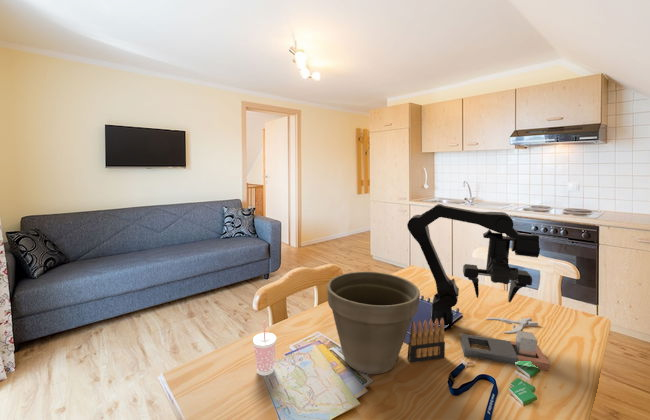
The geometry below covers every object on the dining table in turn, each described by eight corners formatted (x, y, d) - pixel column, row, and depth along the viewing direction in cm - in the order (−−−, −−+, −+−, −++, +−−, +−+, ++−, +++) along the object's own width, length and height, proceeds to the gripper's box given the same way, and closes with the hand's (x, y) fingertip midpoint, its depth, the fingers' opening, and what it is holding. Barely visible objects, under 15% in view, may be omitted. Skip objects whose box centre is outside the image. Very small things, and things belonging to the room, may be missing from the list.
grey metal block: (518, 360, 88) (520, 337, 87) (514, 352, 91) (516, 330, 90) (534, 363, 87) (537, 340, 85) (530, 355, 90) (532, 332, 89)
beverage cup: (256, 362, 86) (255, 315, 84) (278, 362, 86) (277, 315, 84) (251, 377, 80) (249, 326, 78) (274, 377, 80) (273, 327, 78)
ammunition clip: (441, 354, 90) (443, 315, 89) (444, 358, 89) (447, 318, 87) (407, 358, 88) (409, 319, 86) (410, 362, 86) (412, 322, 85)
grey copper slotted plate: (463, 356, 90) (464, 349, 89) (460, 339, 98) (460, 333, 98) (548, 370, 83) (549, 363, 83) (537, 351, 92) (537, 345, 92)
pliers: (485, 315, 111) (523, 313, 113) (485, 319, 111) (523, 317, 113) (504, 330, 101) (546, 327, 103) (504, 334, 102) (545, 331, 103)
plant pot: (395, 331, 103) (397, 268, 100) (433, 382, 79) (438, 301, 75) (320, 337, 99) (320, 272, 95) (336, 394, 74) (337, 309, 71)
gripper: (468, 256, 93) (463, 305, 95) (541, 264, 87) (534, 316, 89) (464, 247, 103) (460, 291, 106) (529, 253, 97) (523, 300, 100)
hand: (493, 299), depth 100 cm, fingers open, 9 cm apart
